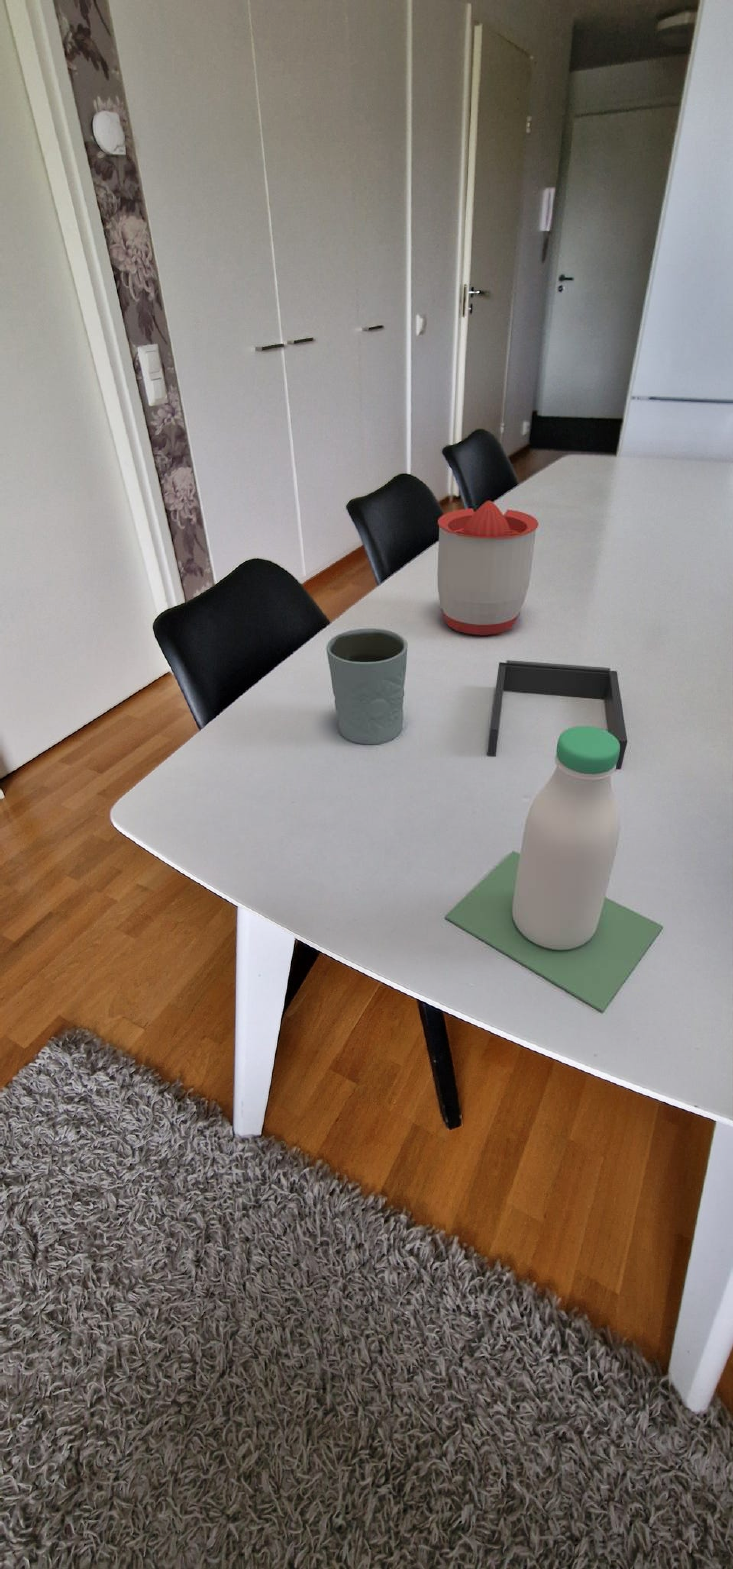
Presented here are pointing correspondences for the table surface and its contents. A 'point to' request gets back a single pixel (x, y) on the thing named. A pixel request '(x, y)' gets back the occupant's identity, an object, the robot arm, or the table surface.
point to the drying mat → (577, 970)
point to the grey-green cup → (368, 683)
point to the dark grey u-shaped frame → (561, 692)
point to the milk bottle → (569, 843)
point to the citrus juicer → (484, 567)
